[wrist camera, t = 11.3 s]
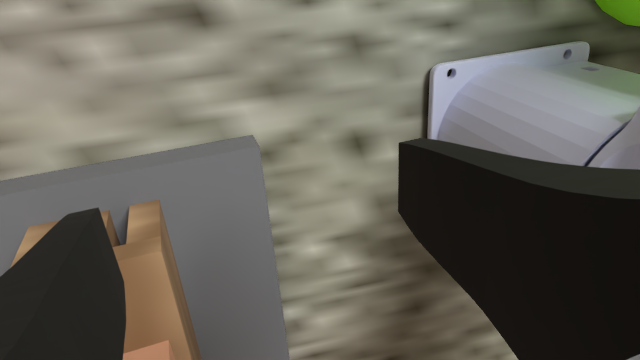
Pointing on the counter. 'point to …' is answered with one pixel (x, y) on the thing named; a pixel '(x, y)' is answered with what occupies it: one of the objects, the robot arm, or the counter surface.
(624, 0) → the wineglass
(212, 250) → the dock
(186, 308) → the pallet
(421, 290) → the counter surface
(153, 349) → the terracotta crate
